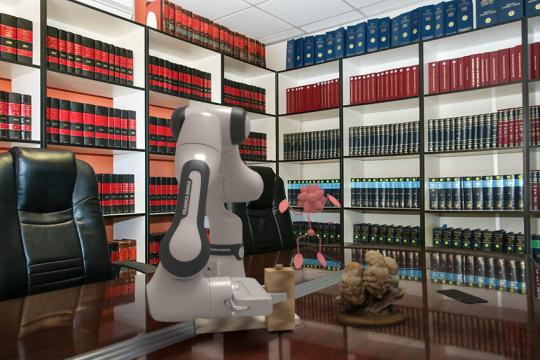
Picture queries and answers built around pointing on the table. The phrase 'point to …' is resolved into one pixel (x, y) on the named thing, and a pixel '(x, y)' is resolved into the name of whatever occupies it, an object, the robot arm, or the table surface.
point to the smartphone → (462, 296)
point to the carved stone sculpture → (370, 293)
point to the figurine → (311, 202)
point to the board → (232, 323)
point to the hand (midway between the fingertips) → (283, 293)
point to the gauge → (282, 311)
